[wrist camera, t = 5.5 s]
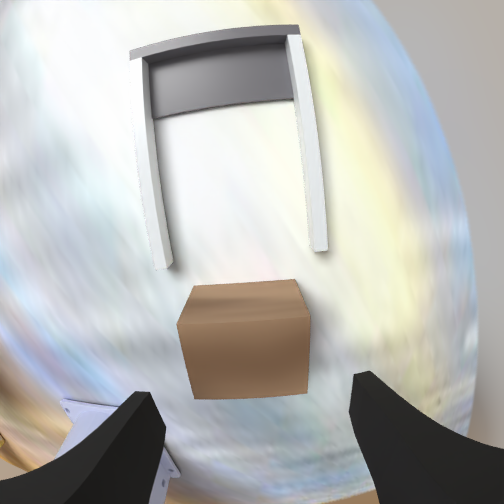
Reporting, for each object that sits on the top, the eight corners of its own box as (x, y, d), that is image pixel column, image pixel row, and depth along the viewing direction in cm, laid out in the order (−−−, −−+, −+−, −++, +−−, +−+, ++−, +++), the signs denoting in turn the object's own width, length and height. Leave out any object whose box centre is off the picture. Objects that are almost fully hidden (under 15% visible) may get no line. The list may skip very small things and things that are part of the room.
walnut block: (294, 345, 15) (307, 393, 11) (205, 350, 15) (194, 399, 11) (294, 278, 14) (310, 315, 10) (194, 285, 14) (176, 324, 10)
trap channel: (321, 243, 13) (328, 250, 12) (162, 262, 14) (155, 270, 12) (294, 35, 11) (298, 24, 10) (138, 59, 11) (129, 50, 10)
